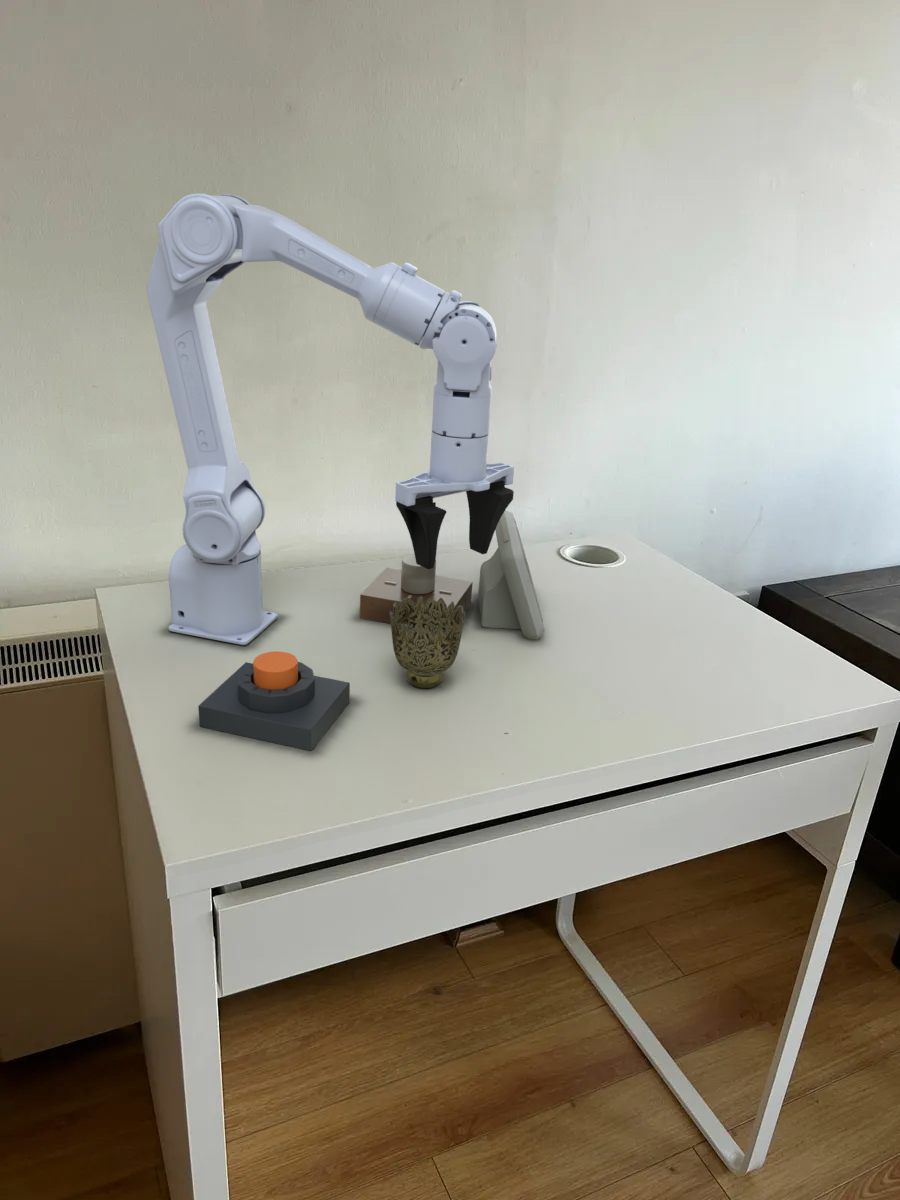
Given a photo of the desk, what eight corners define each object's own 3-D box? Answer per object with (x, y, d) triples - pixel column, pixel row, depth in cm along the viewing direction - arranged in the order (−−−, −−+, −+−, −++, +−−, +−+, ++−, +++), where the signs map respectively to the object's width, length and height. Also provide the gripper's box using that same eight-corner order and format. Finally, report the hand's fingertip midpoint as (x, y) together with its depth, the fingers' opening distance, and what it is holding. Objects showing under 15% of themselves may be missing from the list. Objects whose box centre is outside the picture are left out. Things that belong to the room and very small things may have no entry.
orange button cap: (246, 686, 82) (245, 666, 81) (266, 667, 85) (265, 647, 84) (286, 695, 81) (286, 674, 80) (305, 674, 84) (305, 655, 83)
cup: (452, 705, 88) (457, 631, 84) (379, 694, 89) (381, 620, 85) (466, 670, 94) (471, 600, 91) (398, 660, 95) (400, 591, 92)
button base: (199, 726, 82) (196, 688, 80) (246, 681, 90) (245, 645, 88) (311, 751, 79) (310, 711, 77) (349, 702, 87) (350, 665, 85)
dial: (396, 591, 104) (397, 560, 103) (407, 578, 108) (408, 549, 106) (428, 596, 104) (430, 566, 102) (438, 584, 107) (440, 554, 106)
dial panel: (359, 618, 104) (360, 593, 103) (386, 589, 112) (386, 566, 111) (450, 634, 102) (452, 609, 100) (471, 604, 110) (472, 580, 108)
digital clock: (541, 647, 100) (551, 558, 96) (462, 636, 101) (468, 548, 97) (553, 591, 115) (562, 512, 110) (483, 582, 116) (490, 503, 112)
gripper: (430, 449, 83) (424, 585, 88) (539, 431, 92) (526, 556, 97) (383, 433, 87) (380, 563, 93) (491, 417, 96) (482, 536, 102)
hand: (452, 558), depth 95 cm, fingers open, 7 cm apart
